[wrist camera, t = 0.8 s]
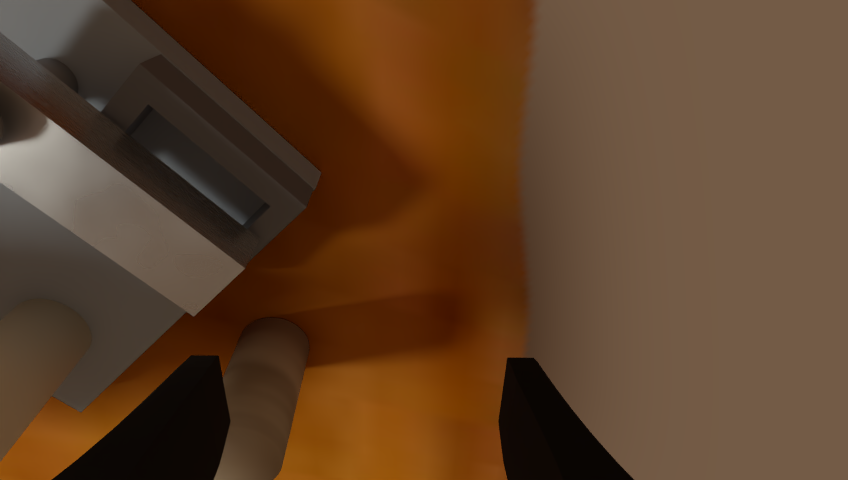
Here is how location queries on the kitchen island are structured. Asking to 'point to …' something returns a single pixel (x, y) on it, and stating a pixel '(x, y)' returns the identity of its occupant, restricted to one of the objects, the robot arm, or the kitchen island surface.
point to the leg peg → (262, 398)
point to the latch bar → (112, 188)
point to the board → (82, 263)
